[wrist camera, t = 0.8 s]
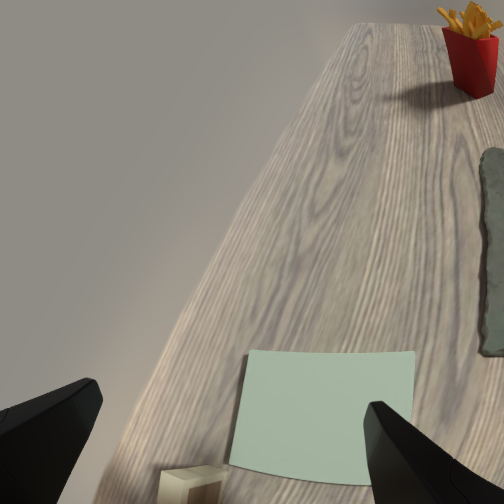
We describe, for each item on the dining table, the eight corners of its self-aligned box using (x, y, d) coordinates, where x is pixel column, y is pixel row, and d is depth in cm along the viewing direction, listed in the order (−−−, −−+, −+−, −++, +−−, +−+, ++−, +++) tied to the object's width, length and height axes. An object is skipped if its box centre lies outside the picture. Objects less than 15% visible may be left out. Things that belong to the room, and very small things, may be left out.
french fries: (446, 84, 30) (432, -5, 19) (475, 74, 29) (466, -6, 17) (488, 111, 25) (484, 10, 13) (514, 99, 23) (513, 10, 12)
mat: (398, 481, 13) (399, 484, 12) (234, 462, 19) (228, 464, 18) (413, 353, 18) (414, 350, 17) (254, 352, 24) (249, 349, 23)
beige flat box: (217, 525, 16) (174, 542, 11) (197, 517, 16) (152, 531, 12) (228, 471, 18) (184, 480, 14) (207, 464, 19) (161, 470, 15)
